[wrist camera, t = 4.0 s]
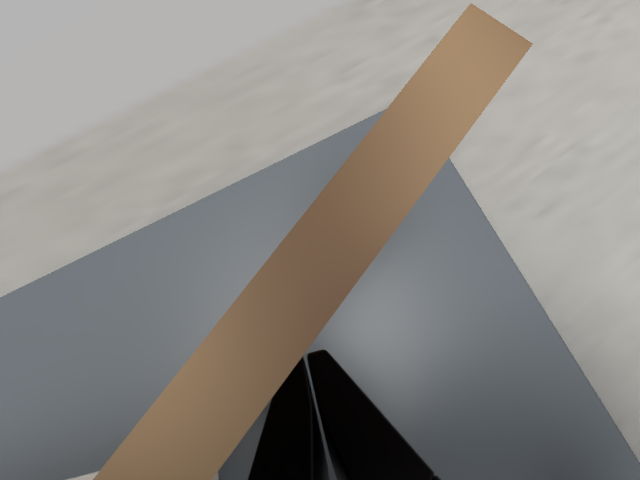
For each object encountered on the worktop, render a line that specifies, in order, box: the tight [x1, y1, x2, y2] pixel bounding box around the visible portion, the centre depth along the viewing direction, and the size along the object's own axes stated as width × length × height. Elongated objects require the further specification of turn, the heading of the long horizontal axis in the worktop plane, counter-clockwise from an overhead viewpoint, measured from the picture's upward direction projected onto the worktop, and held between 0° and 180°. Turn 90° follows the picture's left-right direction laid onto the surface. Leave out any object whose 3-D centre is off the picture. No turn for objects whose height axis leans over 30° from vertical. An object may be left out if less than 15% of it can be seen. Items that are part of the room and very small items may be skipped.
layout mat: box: [0, 109, 640, 480], centre depth 14 cm, size 18×23×1 cm
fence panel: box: [93, 4, 532, 480], centre depth 10 cm, size 11×1×9 cm, turn 143°
